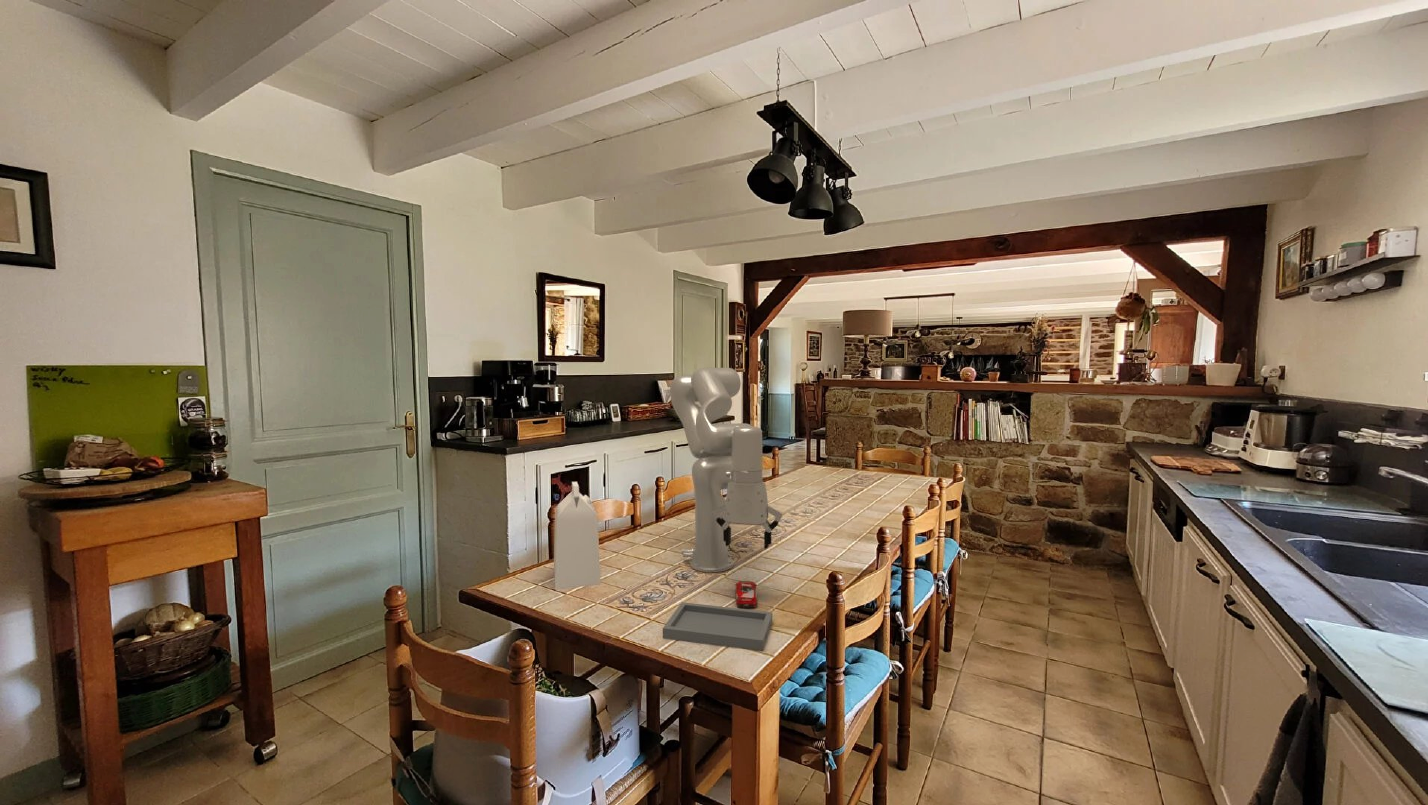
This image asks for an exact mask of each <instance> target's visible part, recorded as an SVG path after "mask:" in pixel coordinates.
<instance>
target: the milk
mask: <svg viewBox="0 0 1428 805" xmlns="http://www.w3.org/2000/svg"><path fill="white" fill-rule="evenodd" d="M598 519H599V518H598V512H597V509H596V507H595V505H594V504H593V500H592V499H591V498H590V497H589V496H588V495H587V494H584V495H583V494H582V493H581V492H580V486H579V484H578V481H571V492H570V493H568V494H567V495H566V497H564V498H563V499H562V500H561V501H560V502H559V503H558V504H557V505H556V507H555V511H554V542H553V543H554V546H553V548H554V549H553V551H554V552H553V580H554V589H555V591H557V590H563V589H571V588H582V587H590V586H599V585H601V571H600V570H601V568H600V567H601V565H600V564H601V562H600V542H599V521H598Z"/></svg>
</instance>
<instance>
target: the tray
mask: <svg viewBox="0 0 1428 805" xmlns="http://www.w3.org/2000/svg"><path fill="white" fill-rule="evenodd" d="M772 625H773V611H764V610H757V609H746V608H739V607H728V606H720V605H719V606H718V605H712V604H703V603H702V604H701V603H694V602H693V603H691V602H684V601H683V602H682V601H681V603H680V604H679V605H678V607H677V608H676V609H675V611H674V612H673V613H672V615H671V616H670V617H669V619H668V620H667V621H666V623H665V624H664V626H663V627H662V639H665V640H672V641H673V640H674V641H680V642H681V641H683V642H691V643H695V644H696V643H697V644H698V643H699V644H705V645H713V646H723V647H727V648H728V647H729V648H737V649H745V650H752V651H759V652H763V651H764V649H765V646H766V642H767V640H768V636H769V634H770V630H771V627H772Z"/></svg>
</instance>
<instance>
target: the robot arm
mask: <svg viewBox="0 0 1428 805" xmlns="http://www.w3.org/2000/svg"><path fill="white" fill-rule="evenodd" d="M741 384H742V382H741V378H740V376H739V374H738V372H737V371H736V370H735V369H734V368H732V367H703V368H698V369H697V370H695V371H694V372H693V373H692V374H684V375H680V376H677V377H674V379H672V380H671V383H670V386H669V388H670V389H669V394H670V401H671V405H672V407H673V409H674V411H675V414H676V415H677V416H678V418H679V419H680V422H681V424H682V426H683V430H684V434H685V438H686V440H687V444H688V445H687V446H688V448H689V450H690V453H691V455H692V456H693V457H694V458H695V459H696V460H695V462H694V463H693V464H692V467H691V477H692V483H693V490H694V511H695V512H694V517H695V518H694V524H695V525H694V531H695V532H694V536H695V537H694V538H695V540H694V542H695V543H694V544H695V546H694V547H693V548H686V547H682V549H681V555H682V556H683V558H690V560H689V566H690V568H691V569H694V570H695V571H697V572H701V573H702V572H703V573H720V572H725V571H728V570H730V569H732V568H733V567H734V559H732V558H731V557H730V556H729V546H730V544H731V542H732V527H731V526H730V525H731V524H732V525H746V526H747V525H748V526H762V528H763V529H764V530H765V531H764V534H763V536H764V537H763V540H764V541H763V543H764V544H763V548H764V549H768V548H769V546H771V545H772V532H773V530H774V529H775V528H776V527H777V526H778V525H779V523H780V521H781V519H782V517H783V513H782V512H781V511H778V510H777V509H776V508H773V507H771V506H770V505H769V503H768V502H769V501H768V493H767V486H766V482H765V481H763V432H762V429H761V428H760V427H759V426H754V425H753V426H752V424H749V423H714V424H713V422H715V421H716V420H719V419H721V418H723V417H725V416H726V415H727V414H728V413H729V412H730V410H731V409H732V406H733V399H732V398H733V397H735V396H737V395H738V393H739V392H740V390H741ZM697 402H698V403H699V404H697ZM699 405H700V406H699ZM722 490H723V491H724V490H726V496H725V497H724V495H722V493H721V491H722ZM769 514H770V515H772V516H774V518H775V519H774V520H773V521H772V522H770V521H769V520H768V519H769Z"/></svg>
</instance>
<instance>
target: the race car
mask: <svg viewBox="0 0 1428 805" xmlns="http://www.w3.org/2000/svg"><path fill="white" fill-rule="evenodd" d="M734 586H735V603H736V604H735V605H736V606H737V608H739V607H740V608H756V607H757V606H758V596H757V586H758V584H756V583H755V582H753V581H751V580H740V581H737V582H736V583H735V584H734Z"/></svg>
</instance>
